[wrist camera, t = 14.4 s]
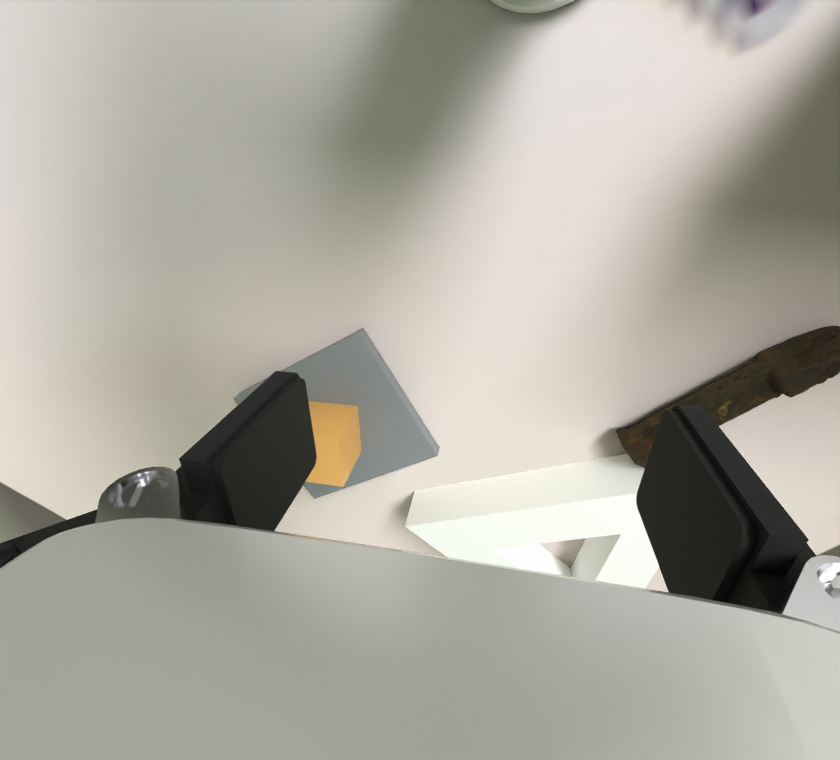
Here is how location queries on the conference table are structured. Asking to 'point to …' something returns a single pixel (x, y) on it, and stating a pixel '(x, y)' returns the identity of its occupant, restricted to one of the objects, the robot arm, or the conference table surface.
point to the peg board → (364, 407)
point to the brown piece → (751, 385)
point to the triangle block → (544, 520)
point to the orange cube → (334, 442)
